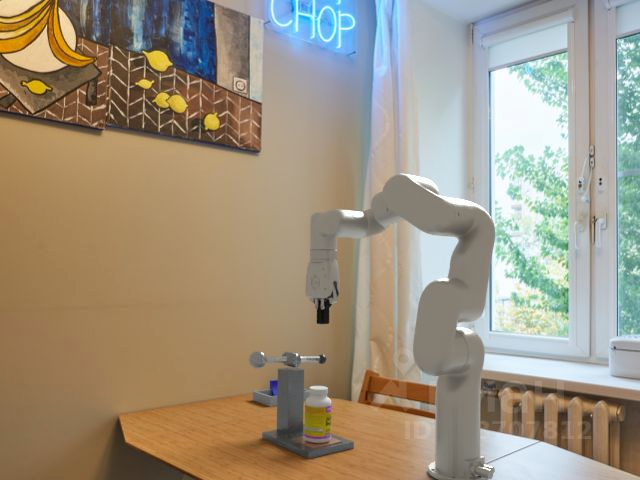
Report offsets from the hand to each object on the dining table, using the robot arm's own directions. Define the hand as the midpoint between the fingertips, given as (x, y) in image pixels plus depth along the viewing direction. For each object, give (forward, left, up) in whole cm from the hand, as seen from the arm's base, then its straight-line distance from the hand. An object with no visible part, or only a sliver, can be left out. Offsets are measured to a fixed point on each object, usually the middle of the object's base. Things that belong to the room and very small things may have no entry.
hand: (322, 323), depth 156 cm
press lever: (+2, +10, -11) cm, 15 cm away
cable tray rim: (+37, -13, -29) cm, 49 cm away
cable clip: (+37, -13, -30) cm, 49 cm away
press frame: (-6, +9, -29) cm, 31 cm away
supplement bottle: (-10, +9, -28) cm, 31 cm away
